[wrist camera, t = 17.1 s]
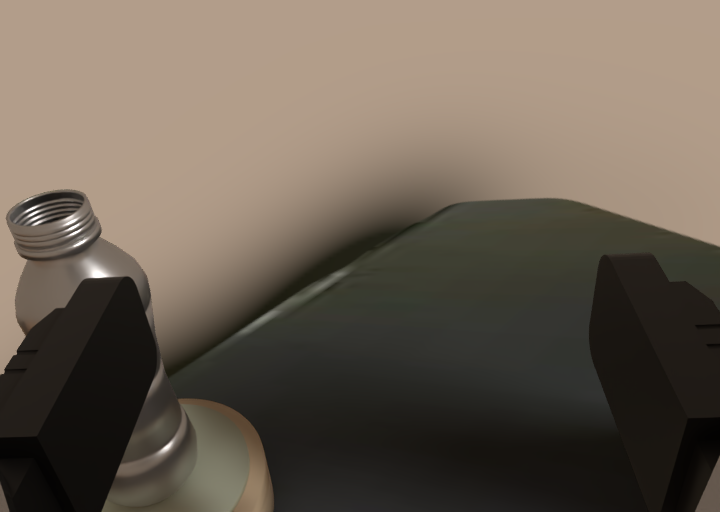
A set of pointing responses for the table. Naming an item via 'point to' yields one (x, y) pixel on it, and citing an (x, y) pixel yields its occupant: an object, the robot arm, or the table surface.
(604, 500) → the table surface
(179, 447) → the plastic bottle
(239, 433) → the wooden stand
